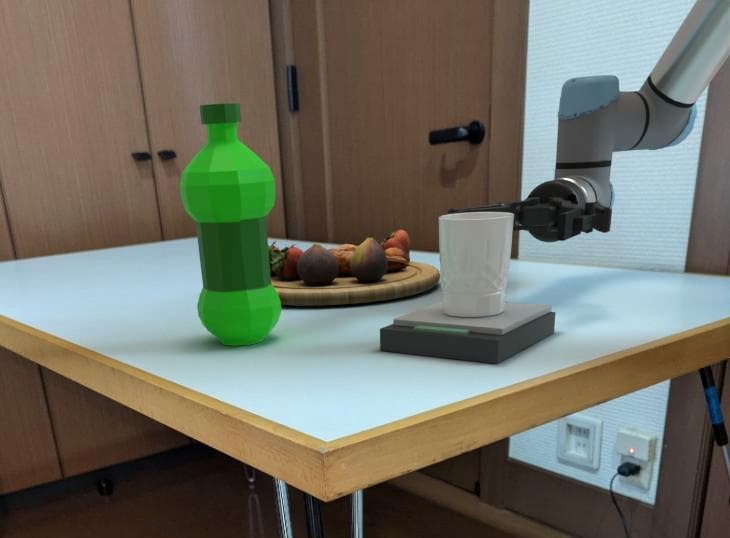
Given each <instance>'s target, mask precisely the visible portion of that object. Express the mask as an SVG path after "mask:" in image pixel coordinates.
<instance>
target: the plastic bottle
mask: <svg viewBox="0 0 730 538" xmlns="http://www.w3.org/2000/svg"><path fill="white" fill-rule="evenodd" d="M199 115H200V122H201V123H200V124H201V125H202V126H206V133H207V142H206V143H205V144H204V145H203V146H202V147H201V149H199V151H197V153H196V154H195V156H194V157H193V158H192V159H191V160H190V162H189V163H188V164H187V166H186V167H185V168H184V170H183V171H182V172H181V177H180V181H179V192H180V199H181V202H182V206H183V208H184V211H185V212H186V213H187V214H188V216H190V217H191V219H193V220H194V221H195V227H196V228H195V229H196V238H197V246H198V247H197V248H198V255H199V264H200V272H201V281H202V289H201V290H200V293H199V297H198V301H197V304H196V308H197V315H198V318H199V321H200V322H201V324H202V326H203V327H204V328H205V329H206V330H207V332H209V333H210V334H211V335H213V336H214V337H215V338H216V339H217V340H218V341H220V343H221V344H222V345H224V346H233V347H239V346H250V345H251V346H252V345H254V344H260V343H261V342H263V341H265V337H267V336H268V335H269V334H270V333H271V332H272V330H273V329H274V328H275V327H276V325H277V324H278V322H279V320H280V317H281V313H282V305H281V301H280V298H279V296H278V294H277V292H276V290H275V288H274V287H273V285H272V283H271V276H270V263H269V250H268V245H269V240H268V239H269V238H268V228H267V227H268V226H267V225H268V224H267V217H268V215H269V214H270V212H271V211H272V210H273V208H274V207H275V201H276V193H277V192H276V179H275V177H274V175H273V172H272V170H271V168H270V166H269V165H268V164H267V163H265V161H263V160H262V159H261V158H260V157H259V156H258V155H257V154H256V153H255V152H254V151H252V150H251V149H250V148H249V147H248V146H247V145H245V144H244V143H243V142H242V141H240V140H239V136H238V124H241V123H242V113H241V103H237V102H235V103H233V102H232V103H230V102H229V103H228V102H227V103H210V104H201V105H199Z"/></svg>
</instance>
